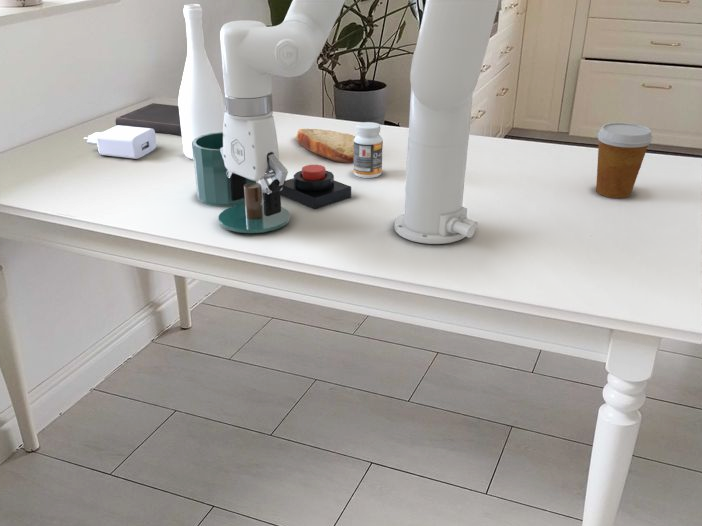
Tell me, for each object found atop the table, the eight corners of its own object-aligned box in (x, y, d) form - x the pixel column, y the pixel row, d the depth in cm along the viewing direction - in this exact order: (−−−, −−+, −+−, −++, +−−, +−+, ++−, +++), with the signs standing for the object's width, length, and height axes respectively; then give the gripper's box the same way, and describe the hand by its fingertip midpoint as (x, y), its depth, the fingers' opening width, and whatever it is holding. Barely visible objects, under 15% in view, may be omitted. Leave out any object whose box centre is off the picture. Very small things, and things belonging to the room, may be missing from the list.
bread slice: (300, 135, 176) (299, 119, 174) (375, 141, 172) (375, 124, 170) (275, 158, 161) (274, 141, 159) (357, 165, 157) (357, 147, 155)
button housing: (351, 197, 141) (351, 177, 139) (315, 209, 136) (314, 188, 134) (313, 183, 148) (312, 163, 146) (277, 194, 143) (276, 173, 141)
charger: (99, 142, 173) (157, 148, 168) (76, 154, 165) (135, 160, 161) (96, 121, 170) (154, 127, 166) (72, 132, 163) (132, 138, 159)
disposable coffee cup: (585, 198, 140) (597, 133, 134) (588, 181, 147) (600, 120, 141) (639, 204, 137) (654, 138, 131) (640, 187, 145) (654, 124, 138)
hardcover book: (154, 112, 195) (152, 103, 194) (231, 121, 187) (230, 111, 186) (116, 128, 183) (114, 118, 182) (197, 138, 175) (196, 128, 174)
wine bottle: (235, 156, 163) (225, 5, 147) (196, 164, 158) (180, 9, 142) (215, 146, 169) (203, 0, 154) (176, 153, 165) (160, 4, 149)
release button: (330, 177, 140) (330, 168, 139) (312, 183, 137) (312, 173, 137) (314, 171, 143) (314, 162, 142) (297, 177, 140) (296, 168, 139)
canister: (270, 196, 142) (267, 141, 136) (220, 211, 136) (215, 154, 130) (235, 181, 149) (231, 128, 144) (186, 195, 143) (180, 140, 137)
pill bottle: (379, 179, 149) (381, 129, 144) (351, 178, 150) (351, 128, 145) (383, 170, 154) (385, 121, 149) (355, 169, 155) (356, 120, 150)
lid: (304, 223, 131) (303, 186, 127) (246, 242, 124) (244, 204, 120) (261, 204, 139) (259, 168, 135) (205, 221, 132) (201, 184, 128)
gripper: (199, 99, 124) (209, 198, 133) (263, 119, 113) (268, 226, 122) (236, 92, 128) (243, 188, 137) (301, 110, 117) (304, 214, 126)
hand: (255, 206), depth 130 cm, fingers open, 9 cm apart
